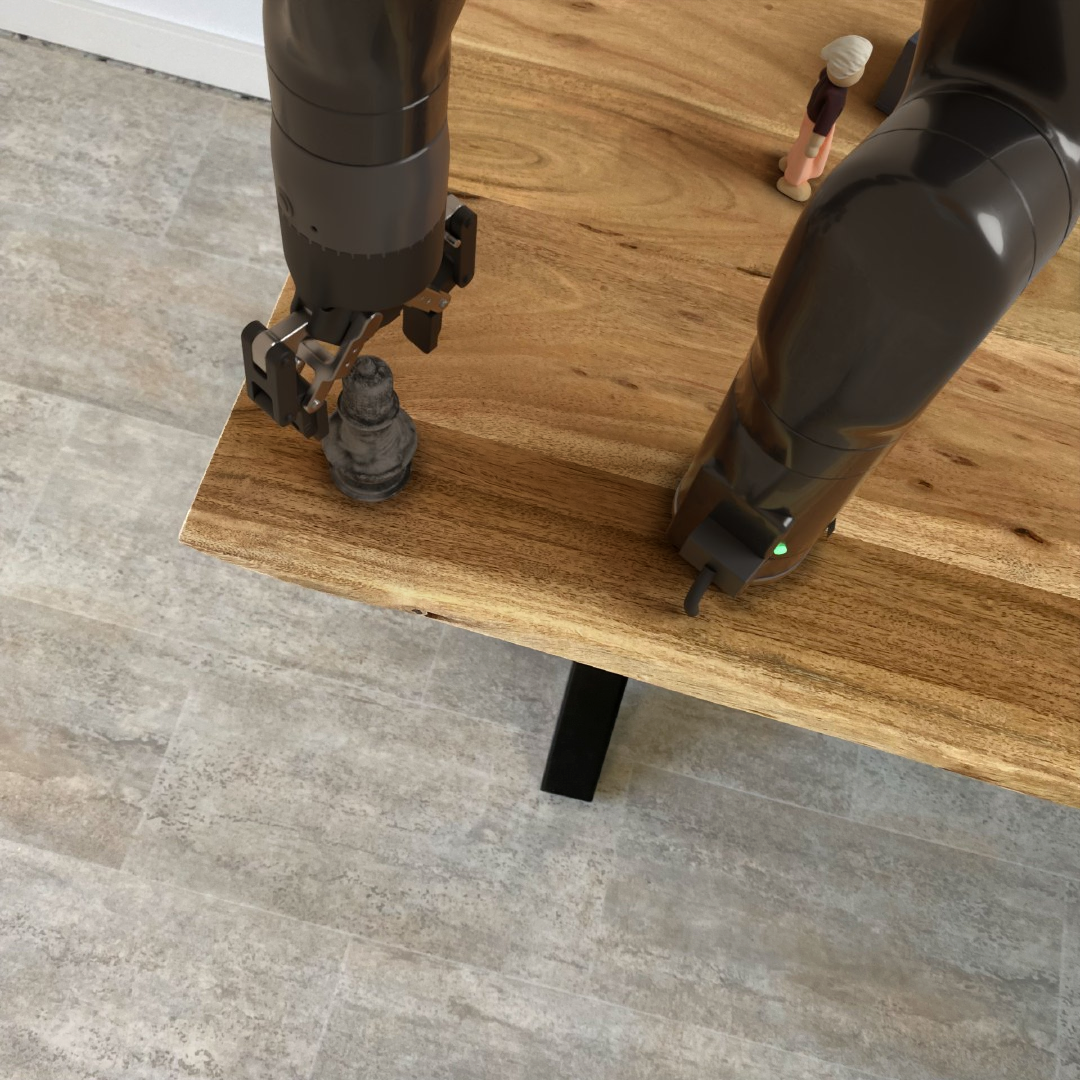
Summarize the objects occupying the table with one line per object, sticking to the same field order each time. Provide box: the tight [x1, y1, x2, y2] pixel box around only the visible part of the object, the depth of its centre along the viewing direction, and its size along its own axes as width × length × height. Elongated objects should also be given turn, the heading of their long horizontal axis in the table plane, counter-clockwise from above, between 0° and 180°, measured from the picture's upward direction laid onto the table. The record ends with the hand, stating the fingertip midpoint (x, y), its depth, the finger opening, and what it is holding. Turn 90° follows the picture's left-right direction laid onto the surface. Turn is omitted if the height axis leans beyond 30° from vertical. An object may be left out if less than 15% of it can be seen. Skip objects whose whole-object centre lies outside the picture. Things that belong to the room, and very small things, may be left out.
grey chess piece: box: [320, 354, 419, 503], centre depth 64 cm, size 6×6×12 cm
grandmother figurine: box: [776, 34, 874, 202], centre depth 79 cm, size 8×4×13 cm, turn 179°
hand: (367, 383), depth 62 cm, fingers open, 8 cm apart
